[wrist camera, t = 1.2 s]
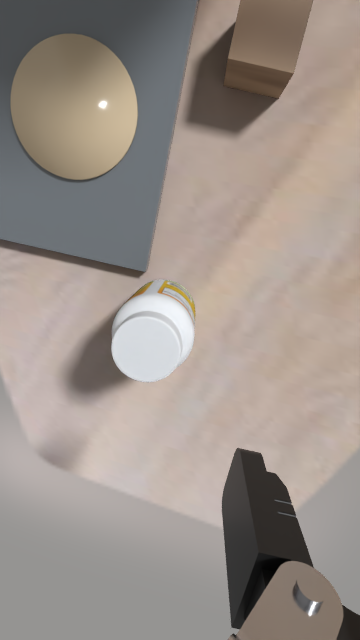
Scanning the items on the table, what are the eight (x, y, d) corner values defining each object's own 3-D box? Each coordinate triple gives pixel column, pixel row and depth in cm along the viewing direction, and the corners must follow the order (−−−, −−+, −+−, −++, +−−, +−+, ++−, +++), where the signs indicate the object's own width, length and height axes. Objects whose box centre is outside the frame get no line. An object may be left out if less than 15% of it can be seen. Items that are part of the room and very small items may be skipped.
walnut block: (238, 19, 22) (245, -24, 19) (295, 32, 22) (315, -9, 19) (223, 86, 23) (227, 58, 20) (278, 99, 23) (293, 73, 20)
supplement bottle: (135, 341, 29) (103, 395, 19) (128, 280, 27) (92, 306, 18) (197, 339, 28) (195, 393, 19) (194, 277, 27) (191, 301, 18)
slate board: (-4, -76, 22) (-17, -95, 20) (204, -28, 22) (204, -45, 20) (-20, 232, 27) (-31, 232, 26) (147, 270, 27) (144, 272, 26)
